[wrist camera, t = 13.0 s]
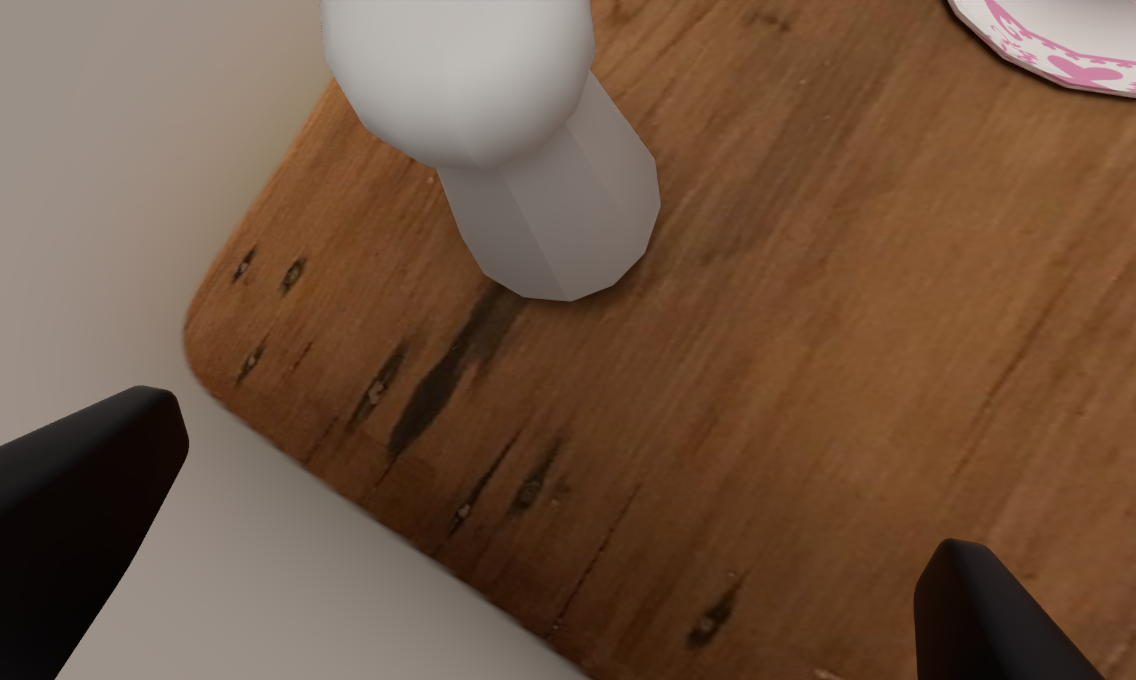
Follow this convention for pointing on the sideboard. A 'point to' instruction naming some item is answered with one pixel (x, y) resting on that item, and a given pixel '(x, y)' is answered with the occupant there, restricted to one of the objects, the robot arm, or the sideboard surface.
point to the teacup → (1061, 39)
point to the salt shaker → (505, 131)
